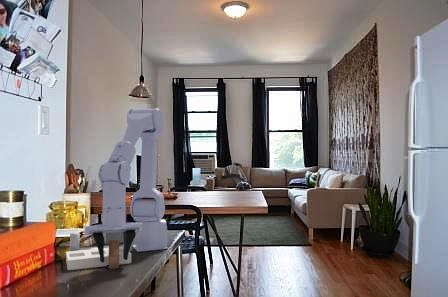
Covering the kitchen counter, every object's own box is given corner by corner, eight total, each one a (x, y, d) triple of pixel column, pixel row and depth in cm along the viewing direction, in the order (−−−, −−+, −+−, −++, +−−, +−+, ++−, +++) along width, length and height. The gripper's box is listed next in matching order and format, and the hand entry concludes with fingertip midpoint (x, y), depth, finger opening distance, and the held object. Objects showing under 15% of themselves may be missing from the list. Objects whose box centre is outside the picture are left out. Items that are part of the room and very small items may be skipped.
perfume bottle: (105, 244, 127) (106, 189, 127) (102, 240, 133) (102, 188, 133) (126, 242, 130) (126, 189, 130) (121, 238, 136) (122, 187, 136)
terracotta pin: (118, 265, 101) (118, 239, 102) (119, 268, 99) (119, 241, 99) (107, 267, 100) (108, 240, 101) (109, 269, 98) (109, 242, 98)
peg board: (124, 254, 113) (124, 246, 113) (131, 263, 104) (131, 253, 104) (66, 260, 106) (66, 251, 107) (67, 270, 97) (67, 260, 97)
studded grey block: (117, 249, 120) (117, 228, 120) (120, 253, 114) (120, 231, 114) (68, 254, 114) (68, 232, 114) (69, 259, 108) (69, 235, 108)
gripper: (86, 211, 93) (85, 267, 93) (145, 208, 99) (145, 260, 99) (83, 208, 100) (83, 260, 99) (139, 205, 106) (139, 254, 106)
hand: (113, 260), depth 100 cm, fingers open, 5 cm apart
